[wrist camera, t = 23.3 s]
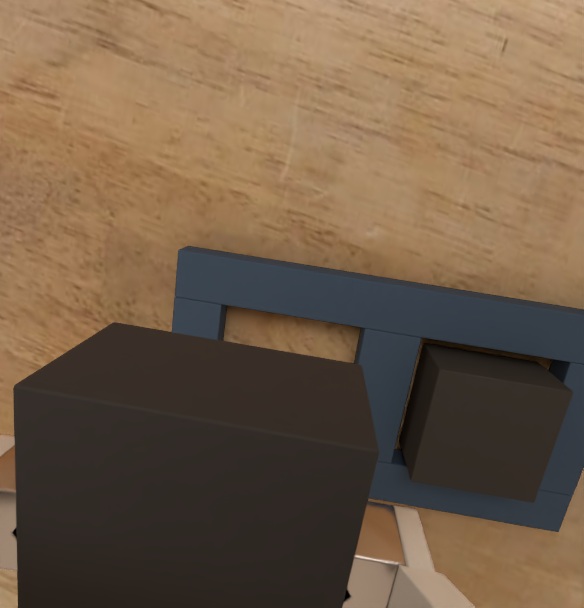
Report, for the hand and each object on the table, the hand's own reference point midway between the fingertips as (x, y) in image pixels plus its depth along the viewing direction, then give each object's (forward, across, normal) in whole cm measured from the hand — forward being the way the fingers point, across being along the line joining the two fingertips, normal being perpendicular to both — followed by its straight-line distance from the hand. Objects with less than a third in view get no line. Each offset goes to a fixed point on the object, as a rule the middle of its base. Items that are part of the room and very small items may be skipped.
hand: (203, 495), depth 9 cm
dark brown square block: (+2, 0, 0) cm, 2 cm away
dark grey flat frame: (+14, -6, +3) cm, 16 cm away
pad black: (+14, -11, +3) cm, 18 cm away
